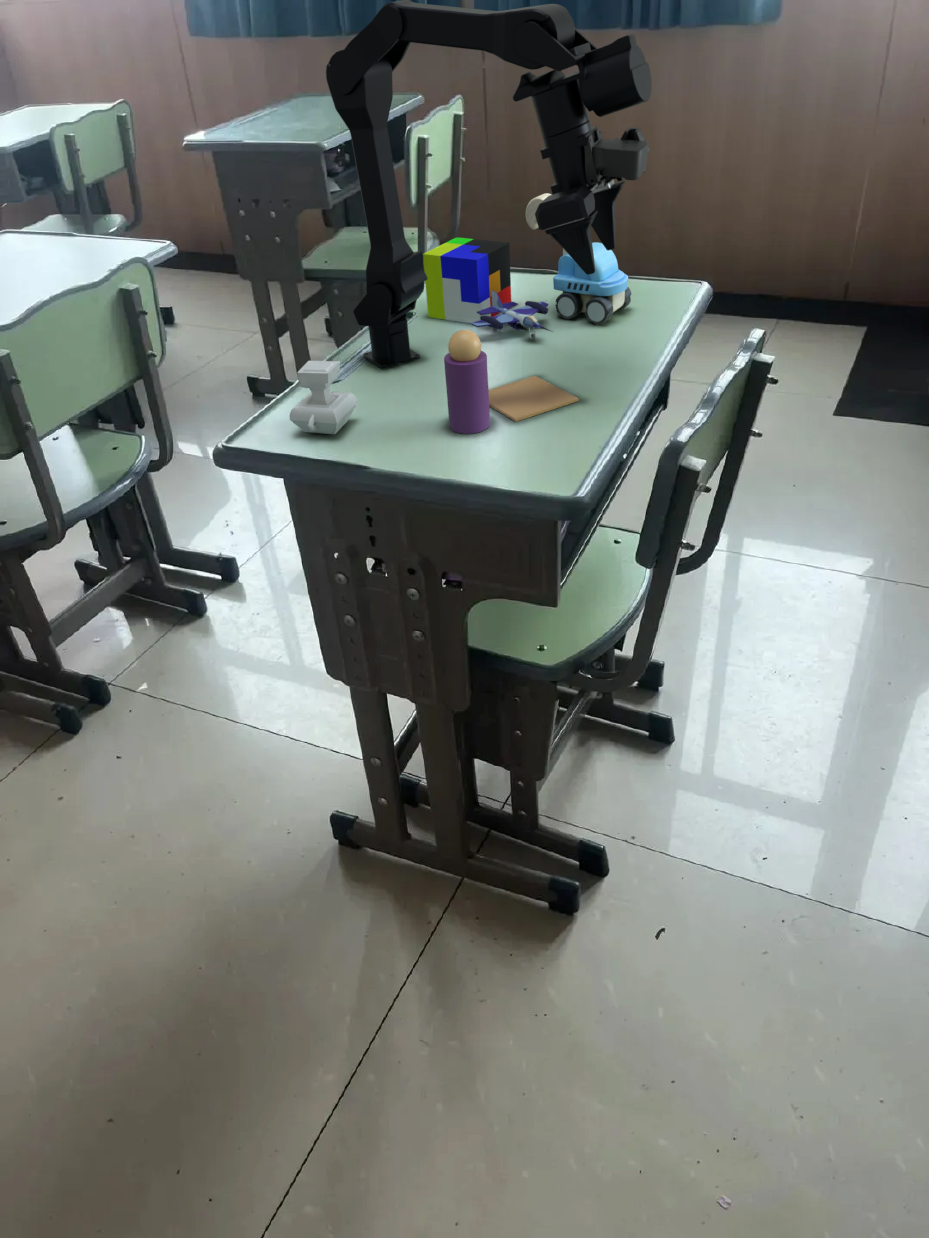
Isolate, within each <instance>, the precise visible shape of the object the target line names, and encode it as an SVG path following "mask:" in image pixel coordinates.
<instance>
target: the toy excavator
mask: <svg viewBox="0 0 929 1238" xmlns="http://www.w3.org/2000/svg"><path fill="white" fill-rule="evenodd" d="M550 195H552V193H542V194H540V195H538V196H535V197H533V198H532V199H530V200H529V202H528V204H527V206H526V207H525V220H526V224H527V225H528V227H529V228H530V229H531V230H532V231H533V230H534V231H535V230H536V229H539V227H538V224H537V220H536V217H535V212H536V210H537V208H538V206H539V204H540V203H541V202H542V201H543V200H544V199H546V198H547V197H548V196H550ZM592 246H593V254H594V262H595V272H594V273H593V274H589V275H587V274H586V273H585V272H584V271H583V270H582V269H581V268H580V267H579V265H578V264H577V263H576V262H575V261H574V260H573V259H572V257H571V256H570V255H569V254H568V253H567V252H566V251H565V250H564V249H563V248H562V256H560V257H559V259H558V263H557V270H558V273H557V274H556V275H554V276H553V278H552V280H553V281H552V282H553V283H552V284H553V290H555V291H559V292H562V293H561V294H559V295H558V296H557V297H556V298H555V303H556V304H555V311H556V312H557V314H558V315H559V317H561V318H562V319H565V320H570V319H573V318H575V317H577V316H578V315H579V314H580V313H583V314H585V317H586V319H587V320H588V321H589V322H592V323H593V324H594V325H602V324H604V323H605V322H607V321H609V320H610V319H611V318H612V317H613V313H615V312H616V311H617V312H621V311H623V310H624V309H626V308H627V307H628V306H629V305H630V304H631V301H632V297H631V296H632V290H631V288H630V287H629V276H628V274H626V273H624V271H622V270H620V269H619V264H618V259H617V257H616V255H615V253H614V251H613V249H612V250H609V251H608V250H606V248H605V247H604V245H603V244H602V242H598V241H597V242H596V241H594V242H592Z"/></svg>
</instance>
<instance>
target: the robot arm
mask: <svg viewBox="0 0 929 1238" xmlns="http://www.w3.org/2000/svg"><path fill="white" fill-rule="evenodd" d="M412 43H414V44H422V45H431V46H432V45H433V46H438V47H447V48H454V49H455V48H456V49H463V50H464V49H465V50H473V51H481V52H485V53H488V54H490V55H491V54H492V55H494V56H496V57H497V58H499V59H501V60H503V61H504V62H506V63H510V64H511V65H512V64H513V65H515V66H517V67H521V68H524V69H527V70H531V71H533V70H539V69H542V68H545V67H547V68H549V69H552V70H550V71H548V72H545V73H542V74H539V75H537V74H533V73H532V72H531V71H527V72H525V73H523V74H521V75H520V79H519V83H518V86H517V88H516V90H515V92H514V94H513V95H512V100H513V101H514V102H516V103H517V102H519V101H523V100H525V99H528V98H531V101H532V104H533V105H532V106H533V108H534V111H535V112H534V113H535V116H536V120H537V122H538V126H539V130H540V134H541V137H542V141H543V144H544V147H543V148H541V149H540V151H539V152H540V155H541V159H542V160H546V159H548V162H549V165H550V169H551V173H552V177H553V180H554V183H552V184H551V186H550V191H551V195H550V196H548V197H547V198H546V199H544V200H543V201H542V202H541V203H540V204H539V206H538V208H537V210H536V212H535V217H536V220H537V224H538V227H539V228H538V231H544V233H545V234H546V235H550V237H552V238H553V240H555V242H557V244H558V245H559V246H560V247H562V250H563V249H564V250H565V251H566V252H567V253H568V254H569V255H570V256H571V257H572V259H573V260H574V261H575V262H576V263H577V264H578V265H579V267H580V268H581V269H582V270H583V271H584V272H585V273H586V274H587V275H589V274H593V273H594V272H595V262H594V254H593V246H592V243H593V240H592V233H591V228H592V229H593V231H594V233H595V234H596V236H597V238H598V239H599V241H600V243H602V244H603V245H604V247H605V248H606V250H608V251H609V250H612V251H613V250H614V249H616V201H617V198H618V196H619V195H620V193H621V191H622V190H623V187H624V186H625V184H626V181H637V180H639V179H641V177H642V175H643V174H645V173H646V172H647V162H648V155H649V154H650V153H651V148H650V146H649V140H648V139H645V137H644V135H643V131H642V129H641V127H633V126H632V127H627V129H625V130H624V132H623V134H622V135H621V137H620V139H619V137H614V138H612V139H611V138H610V139H609V138H608V139H607V138H603V135H602V130H601V129H600V128H599V127H598V125H596V126H592V123H591V119H590V115H589V112H593V113H594V114H595V115H596V116H597V117H599V118H602V117H605V116H609V115H611V114H614V113H617V112H620V111H623V110H626V109H629V108H632V107H636V106H638V105H641V104H644V103H646V102H649V100H650V99H651V96H652V89H653V88H652V73H651V68H650V64H649V62H647V60H646V57H645V55H644V52H643V51H642V48H641V47H640V46H639V45H638V44H637V38H636V34H635V33H630V34H627V35H624V36H622V37H621V36H620V37H618V38H617V39H616V40H614V41H613V42H611V43H609V44H607V45H603V46H602V47H599V48H598V47H597V46H596V45H595V44H594V43H593V42H592V41H590V40H589V38H587V37H586V36H585V35H584V34H583V33H582V32H581V31H579V30H578V28H576V26H575V23H574V20H573V17H572V15H571V14H570V13H569V11H568V9H567V8H566V7H565V6H563V5H561V4H558V3H548V4H547V3H546V4H540V5H532V6H525V7H519V8H518V7H517V8H512V9H505V10H491V9H489V10H488V9H479V8H468V7H460V6H450V5H440V4H439V5H438V4H431V3H429V4H428V3H418V2H414V1H412V0H398V1H397V0H396V1H391V2H387V3H385V4H384V5H382V7H381V8H380V10H379V11H378V12H377V13H376V15H375V16H374V17H373V19H372V20H371V21H370V22H369V23H368V24H367V25H366V26H365V27H364V28H363V29H361V31H360V32H358V34H356V35H355V36H354V37H353V38H352V39H351V40H350V41H349V42H348V43H347V45H346V46H345V47H344V49H341V50H338V51H336V52H335V53H334V54H333V55H331V57H330V58H329V61H328V63H327V64H326V67H325V80H326V83H327V87H328V90H329V94H330V97H331V99H332V102H333V106H334V109H335V111H336V112H337V114H338V115H339V117H340V118H341V120H342V122H343V123H344V124H345V126H346V127H347V129H348V131H349V134H350V138H351V145H352V150H353V156H354V160H355V161H354V162H355V167H356V172H357V179H358V183H359V189H360V194H361V200H362V205H363V210H364V216H365V223H366V227H367V228H366V229H367V233H368V238H369V247H370V248H369V253H368V258H367V262H366V266H365V289H366V291H365V292H366V294H365V296H364V297H363V298H362V299H361V300H360V301H359V302H358V304H357V305H356V307H355V308H354V309H353V310H352V311H353V312H352V313H353V315H354V318H355V320H356V322H357V324H358V326H363V327H368V334H369V341H370V342H369V343H370V348H371V349H370V350H371V351H368V352H364V353H363V358H364V359H366V360H367V361H369V362H371V363H372V364H374V365H375V366H377V367H378V368H380V369H383V370H384V369H388V368H392V367H395V366H398V365H402V364H405V363H409V362H413V361H416V360H420V358H421V355H420V353H417V352H416V351H414V350H413V349H411V346H410V345H411V344H410V336H409V326H408V324H409V323H408V316H407V314H408V313H410V312H411V311H414V310H415V309H416V305H417V301H418V299H419V298H420V297H421V296H422V294H423V293H424V291H425V281H426V280H427V279H428V278H427V276H426V274H425V271H424V262H423V254H424V253H423V251H422V250H416V251H413V249H412V247H411V246H410V245H409V243H408V242H407V240H406V236H405V230H404V224H403V217H402V211H401V205H400V199H399V192H398V186H397V179H396V174H395V167H394V161H393V153H392V148H391V141H390V135H389V129H388V121H389V117H390V112H391V107H392V102H393V98H394V97H393V96H394V95H393V94H394V93H393V92H394V91H393V73H394V71H395V69H396V68H397V67H398V66H399V65H400V63H402V61H403V59H404V58H405V55H406V53H407V52H408V49H409V48H410V46H411V44H412ZM575 66H577V67H578V71H576V72H573V73H570V74H565V73H564V72H563V71H564V70H567V69H569V68H572V67H575ZM615 180H616V181H617V182H615Z"/></svg>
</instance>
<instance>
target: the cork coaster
mask: <svg viewBox="0 0 929 1238" xmlns="http://www.w3.org/2000/svg"><path fill="white" fill-rule="evenodd" d="M488 391H489V408H491V409H492V410H495V411H497V412H498V413H500V414H501V415H503V416H505V417H507V418H508V419H510V420H512V421H514V423H515V422H516V423H517V422H521V421H523V420H525V419H528V418H529V419H530V418H531V417H534V416H538V415H540V414H543V413H544V414H545V413H547V412H550V411H552V410H556V409H559V408H562V407H565V406H568V405H571V404H574V403H577V402H579V398H578V397H577V396H575V395H573V394H571V393H569V392H567V391H565V390H563V389H561V388H559V387H558V386H556V385H554V384H552V383H549V382H548V381H547V380H546V381H545V380H544V379H542V378H540V377H538V376H536V375H533V376H529V377H526V378H522V379H520V380H516V381H513V382H510V383H506V384H503V385H500V386H497V387H494V388H491V389H488Z"/></svg>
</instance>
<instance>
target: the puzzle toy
mask: <svg viewBox="0 0 929 1238" xmlns="http://www.w3.org/2000/svg"><path fill="white" fill-rule="evenodd" d="M510 248H511V247H510V242H506V241H497V240H489V239H488V240H486V239H476V238H467V237H459V236H458V237H455V238H452V239H450V240H448V241H447V242H445V243H443V244H440V245H438V246H437V247H434V248H431V249H430V250H428V251H426V252H424V253H423V266H424V271H425V274H426V276H427V278H428V279H427V280H426V281H424V285H425V294H426V305H427V315H428V318H432V319H438V320H445V321H451V322H452V321H453V322H459V323H466V324H471V323H473V322H476V321H480V317H481V316H490V317H494V316H497V315H499V314H500V312H498V313H491V314H485V315H480V314H478V313H477V312H478V311H480V310H483V309H486V308H489V307H491V306H492V291H495V292H497V294H498V296H499V298H500V300H501V303H502V304H504V303H509V302H512V283H511V282H512V281H511V279H512V278H511V252H510Z"/></svg>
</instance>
